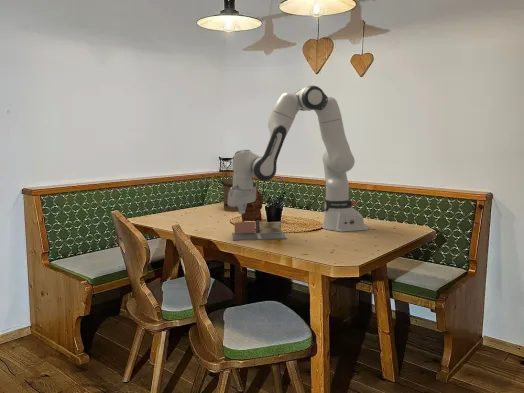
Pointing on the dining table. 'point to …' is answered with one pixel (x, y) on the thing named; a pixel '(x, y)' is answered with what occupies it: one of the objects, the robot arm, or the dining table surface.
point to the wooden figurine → (253, 209)
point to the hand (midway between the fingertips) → (242, 213)
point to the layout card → (258, 236)
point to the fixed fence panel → (268, 227)
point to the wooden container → (227, 186)
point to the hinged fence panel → (244, 227)
